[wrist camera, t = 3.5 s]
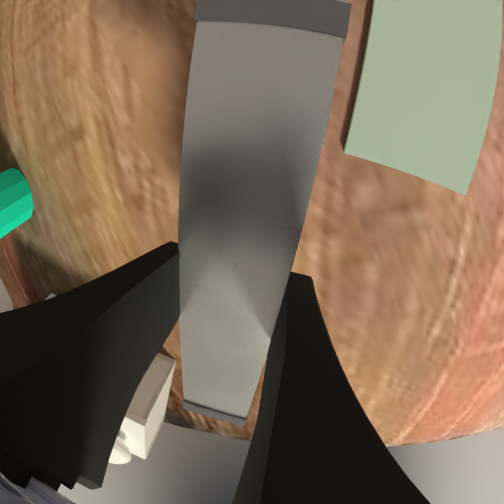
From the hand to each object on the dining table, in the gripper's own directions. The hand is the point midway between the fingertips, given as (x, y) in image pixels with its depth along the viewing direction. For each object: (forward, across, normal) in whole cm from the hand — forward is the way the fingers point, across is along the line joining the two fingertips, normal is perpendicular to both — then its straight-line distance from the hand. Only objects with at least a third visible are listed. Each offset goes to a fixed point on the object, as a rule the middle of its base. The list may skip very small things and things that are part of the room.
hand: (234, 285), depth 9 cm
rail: (+2, 0, 0) cm, 2 cm away
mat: (+10, -7, -11) cm, 16 cm away
